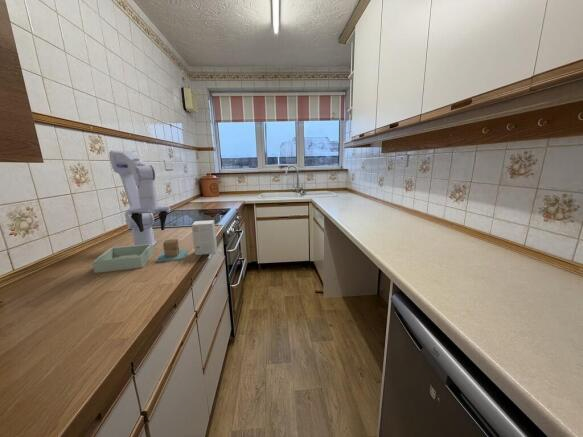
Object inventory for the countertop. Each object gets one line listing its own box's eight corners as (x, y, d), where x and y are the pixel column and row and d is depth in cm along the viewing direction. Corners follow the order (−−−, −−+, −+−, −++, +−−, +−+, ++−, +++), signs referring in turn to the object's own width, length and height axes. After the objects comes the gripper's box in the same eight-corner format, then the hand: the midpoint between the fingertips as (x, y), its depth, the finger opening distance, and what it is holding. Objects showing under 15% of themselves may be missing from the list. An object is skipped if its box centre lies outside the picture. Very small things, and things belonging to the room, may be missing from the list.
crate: (113, 258, 99) (111, 247, 98) (154, 253, 102) (152, 243, 101) (94, 273, 85) (92, 261, 84) (142, 268, 88) (140, 256, 87)
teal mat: (162, 253, 102) (161, 252, 102) (187, 250, 104) (187, 249, 104) (155, 262, 92) (155, 261, 92) (183, 259, 95) (183, 258, 95)
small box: (217, 248, 106) (214, 219, 103) (215, 253, 100) (212, 223, 97) (198, 250, 105) (194, 220, 102) (194, 255, 99) (191, 224, 96)
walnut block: (167, 253, 100) (165, 239, 98) (179, 252, 101) (177, 238, 100) (165, 257, 96) (163, 243, 94) (177, 256, 97) (175, 242, 95)
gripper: (122, 199, 89) (128, 234, 92) (165, 197, 93) (170, 231, 96) (129, 197, 96) (135, 230, 99) (169, 195, 100) (173, 227, 103)
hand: (152, 230), depth 98 cm, fingers open, 7 cm apart
